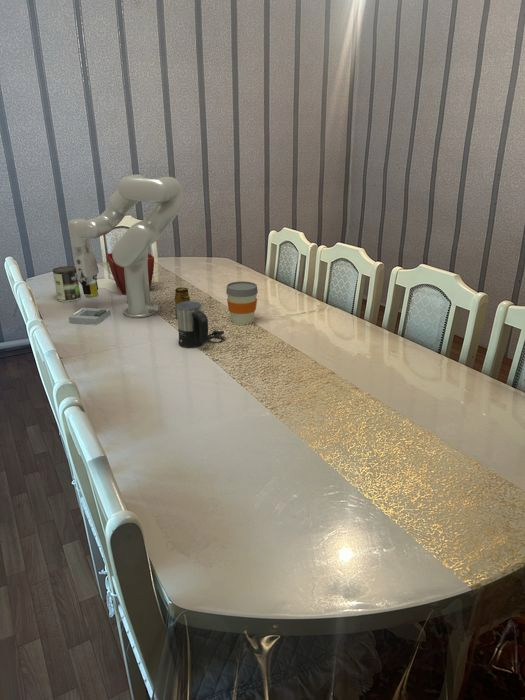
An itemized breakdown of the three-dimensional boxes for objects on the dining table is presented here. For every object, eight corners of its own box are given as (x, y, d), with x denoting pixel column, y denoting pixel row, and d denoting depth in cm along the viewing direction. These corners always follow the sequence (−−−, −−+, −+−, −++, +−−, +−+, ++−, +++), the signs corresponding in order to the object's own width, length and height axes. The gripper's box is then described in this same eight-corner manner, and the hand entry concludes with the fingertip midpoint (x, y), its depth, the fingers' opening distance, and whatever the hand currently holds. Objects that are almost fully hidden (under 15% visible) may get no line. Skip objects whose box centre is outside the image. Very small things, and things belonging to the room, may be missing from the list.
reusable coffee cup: (244, 328, 203) (244, 292, 197) (220, 322, 210) (219, 286, 204) (264, 320, 212) (264, 284, 206) (240, 313, 219) (239, 279, 213)
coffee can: (84, 295, 243) (79, 265, 237) (76, 302, 234) (71, 271, 228) (62, 295, 243) (57, 265, 238) (53, 302, 234) (48, 271, 228)
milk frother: (173, 345, 188) (170, 306, 183) (197, 331, 201) (195, 294, 195) (205, 352, 182) (203, 312, 176) (229, 337, 195) (228, 300, 189)
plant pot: (109, 287, 256) (105, 253, 249) (148, 282, 263) (145, 249, 256) (117, 297, 240) (112, 262, 233) (157, 292, 247) (154, 257, 240)
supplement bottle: (94, 299, 219) (90, 276, 215) (83, 299, 220) (78, 277, 216) (101, 295, 224) (96, 273, 220) (89, 295, 225) (85, 273, 221)
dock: (110, 315, 218) (109, 307, 217) (96, 325, 207) (95, 317, 206) (84, 313, 220) (83, 305, 219) (69, 323, 209) (68, 315, 208)
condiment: (186, 312, 221) (184, 285, 216) (197, 317, 215) (195, 290, 210) (171, 316, 217) (169, 288, 212) (181, 321, 211) (180, 293, 206)
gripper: (80, 254, 206) (89, 298, 213) (101, 245, 221) (108, 286, 228) (63, 254, 207) (72, 298, 214) (85, 245, 223) (93, 286, 230)
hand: (91, 291), depth 221 cm, fingers closed on supplement bottle, 5 cm apart
